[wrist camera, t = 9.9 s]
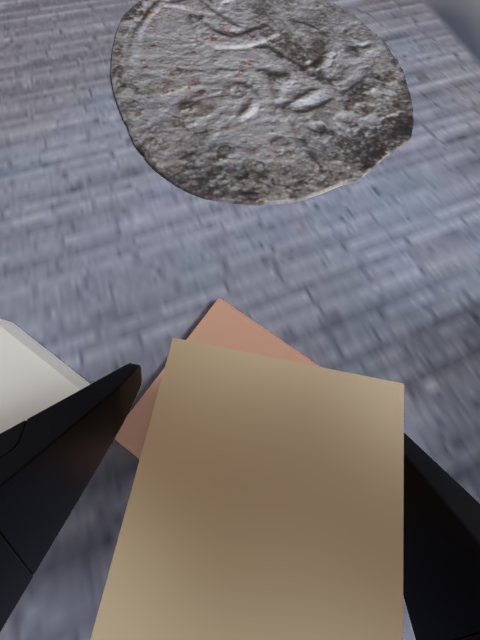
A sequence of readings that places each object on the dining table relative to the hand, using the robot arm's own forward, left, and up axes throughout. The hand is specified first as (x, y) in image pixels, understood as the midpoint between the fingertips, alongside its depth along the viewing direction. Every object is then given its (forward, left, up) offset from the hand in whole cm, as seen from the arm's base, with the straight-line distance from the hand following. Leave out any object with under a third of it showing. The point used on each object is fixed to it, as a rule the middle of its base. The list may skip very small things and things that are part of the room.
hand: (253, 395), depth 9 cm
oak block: (-1, -1, -8) cm, 8 cm away
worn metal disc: (+29, +18, -9) cm, 35 cm away
